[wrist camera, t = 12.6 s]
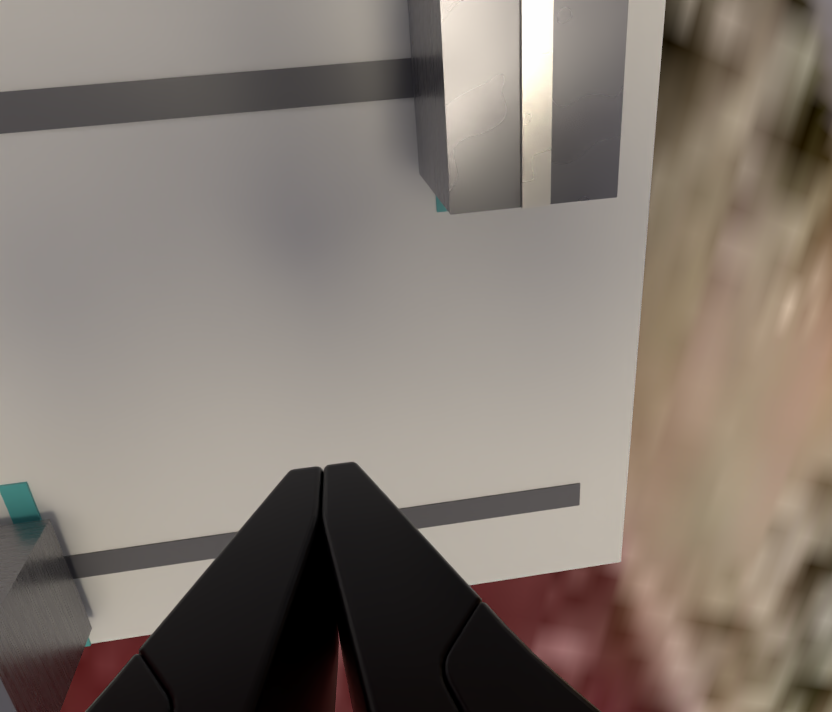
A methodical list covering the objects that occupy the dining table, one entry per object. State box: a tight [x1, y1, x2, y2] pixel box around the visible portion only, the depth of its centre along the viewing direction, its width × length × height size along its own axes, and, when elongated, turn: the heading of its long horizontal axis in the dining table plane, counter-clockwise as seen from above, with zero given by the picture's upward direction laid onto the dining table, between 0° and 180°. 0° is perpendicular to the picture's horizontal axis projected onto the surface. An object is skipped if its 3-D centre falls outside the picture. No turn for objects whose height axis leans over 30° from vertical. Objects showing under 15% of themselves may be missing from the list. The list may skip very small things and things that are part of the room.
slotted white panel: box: [0, 0, 666, 647], centre depth 18 cm, size 18×22×2 cm
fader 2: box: [407, 0, 629, 215], centre depth 13 cm, size 4×3×4 cm
